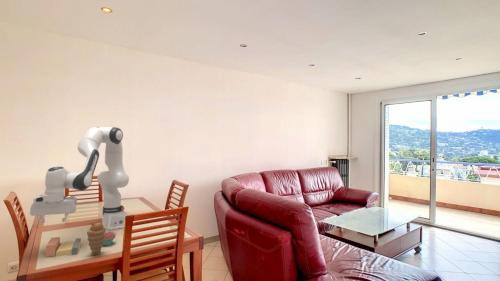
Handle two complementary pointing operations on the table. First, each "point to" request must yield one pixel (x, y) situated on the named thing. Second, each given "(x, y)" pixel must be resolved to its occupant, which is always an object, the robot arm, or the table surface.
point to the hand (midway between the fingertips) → (53, 222)
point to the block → (52, 246)
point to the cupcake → (108, 237)
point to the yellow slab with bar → (69, 248)
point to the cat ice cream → (96, 237)
